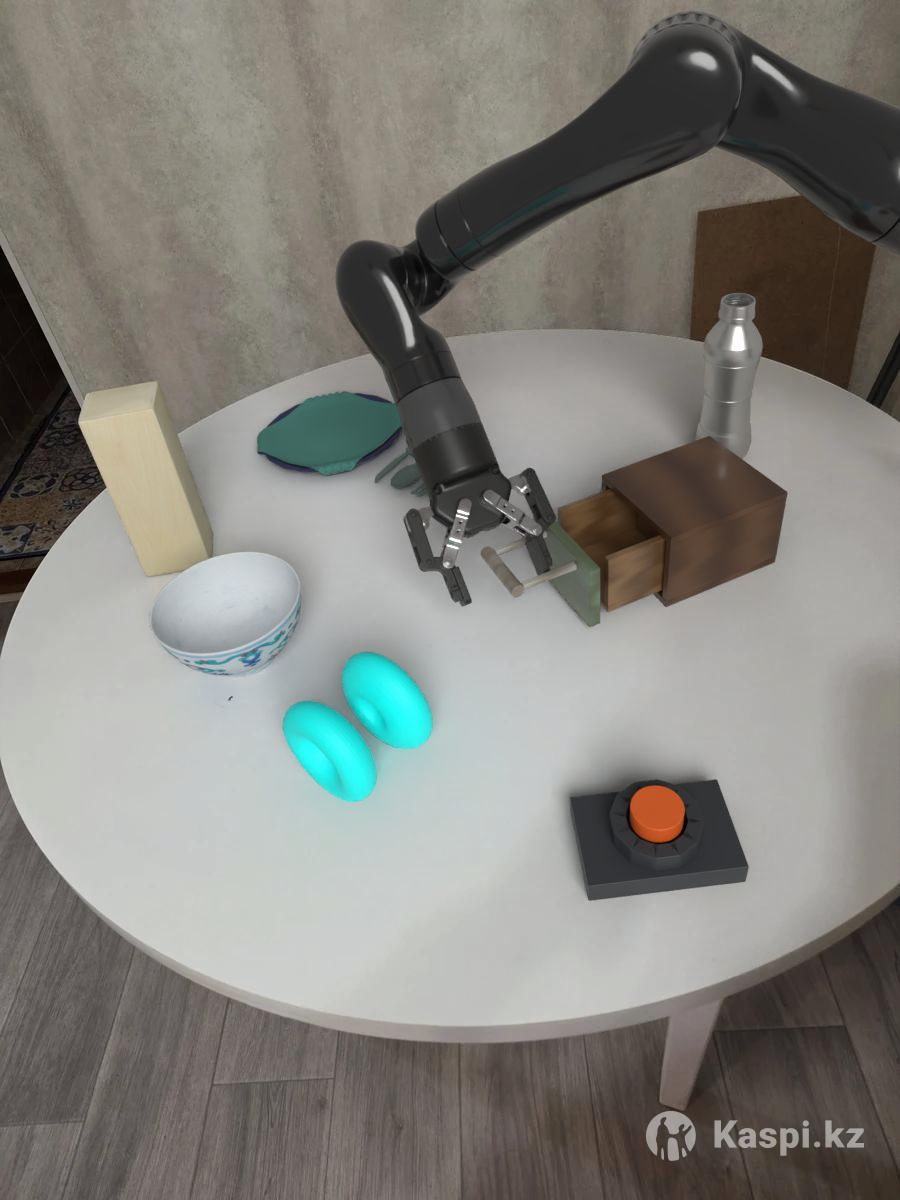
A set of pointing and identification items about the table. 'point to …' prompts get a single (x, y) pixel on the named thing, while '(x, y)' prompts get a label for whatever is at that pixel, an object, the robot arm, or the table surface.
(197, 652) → the chinaware
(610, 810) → the control block
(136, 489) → the tall cream wooden block
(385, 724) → the donuts
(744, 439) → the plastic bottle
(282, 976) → the table surface
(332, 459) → the cutlery set
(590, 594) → the drawer
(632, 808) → the button
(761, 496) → the cabinet
